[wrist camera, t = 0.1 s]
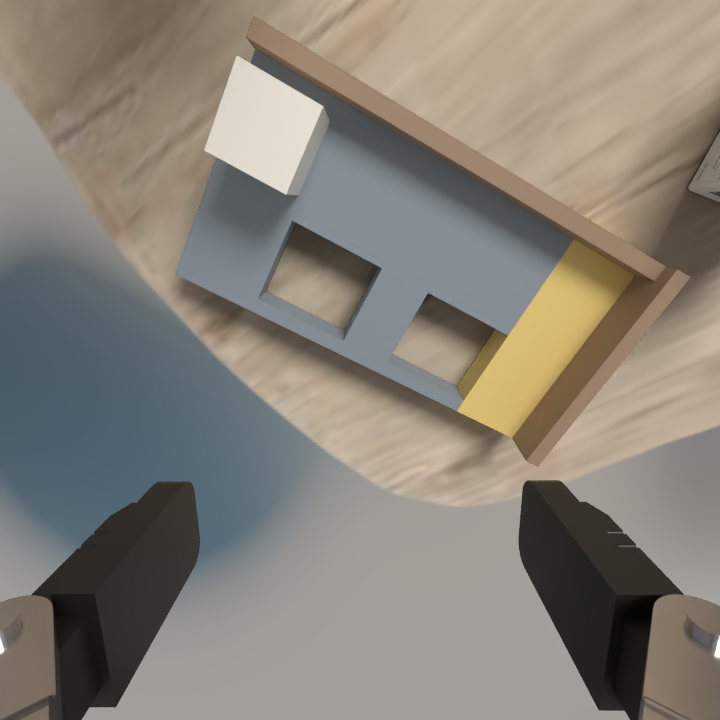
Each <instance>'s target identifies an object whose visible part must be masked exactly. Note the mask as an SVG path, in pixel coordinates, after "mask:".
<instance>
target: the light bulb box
mask: <svg viewBox="0 0 720 720" xmlns="http://www.w3.org/2000/svg"><path fill="white" fill-rule="evenodd" d="M688 189H689V190H690V191H692V192H695V193H697V194H700V195H702V196H705V197H707V198H710V199H712V200H715V201H717V202H720V132H719V134H718V135H717V137H716V139H715V141H714V143H713V144H712V146H711V148H710V150H709V151H708V153H707V155H706V157H705V159H704V160H703V162H702V164H701V166H700V168H699V169H698V171H697V173H696V175H695V176H694V178H693V180H692V182H691V183H690V185H689V187H688Z"/></svg>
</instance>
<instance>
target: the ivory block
mask: <svg viewBox="0 0 720 720" xmlns="http://www.w3.org/2000/svg"><path fill="white" fill-rule="evenodd" d="M329 124H330V120H329V118H328V115H327V113H326V111H325V109H324V107H323V106H322V105H320V104H319V103H317V102H315V101H314V100H312V99H310V98H308V97H307V96H305V95H303V94H302V93H300V92H298V91H297V90H295V89H293V88H291V87H290V86H288V85H286V84H285V83H283V82H281V81H280V80H278V79H276V78H274V77H273V76H271V75H269V74H268V73H266V72H264V71H263V70H261V69H259V68H257V67H256V66H254V65H252V64H251V63H249V62H247V61H246V60H244V59H242V58H240V57H239V56H236V59H235V62H234V65H233V68H232V71H231V74H230V77H229V79H228V82H227V85H226V88H225V91H224V94H223V97H222V100H221V103H220V106H219V109H218V111H217V114H216V117H215V120H214V123H213V126H212V129H211V132H210V135H209V138H208V140H207V143H206V146H205V149H204V151H206V152H208V153H210V154H212V155H214V156H215V157H217V158H219V159H221V160H223V161H225V162H226V163H228V164H230V165H232V166H234V167H236V168H238V169H239V170H241V171H243V172H245V173H247V174H249V175H250V176H252V177H254V178H256V179H258V180H260V181H262V182H263V183H265V184H267V185H269V186H271V187H273V188H274V189H276V190H278V191H280V192H282V193H284V194H286V195H299V193H300V191H301V188H302V186H303V184H304V182H305V179H306V177H307V175H308V172H309V170H310V168H311V165H312V163H313V161H314V158H315V156H316V154H317V152H318V149H319V147H320V145H321V142H322V140H323V138H324V135H325V133H326V131H327V129H328V126H329Z"/></svg>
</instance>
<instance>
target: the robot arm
mask: <svg viewBox="0 0 720 720" xmlns="http://www.w3.org/2000/svg"><path fill="white" fill-rule="evenodd" d="M199 547H200V537H199V527H198V519H197V510H196V501H195V493H194V488H193V485H192V483H190V482H157V483H155V484H154V485H153V486H152V487H151V488H150V489H149V490H148V491H147V492H146V493H145V494H144V496H143V497H142V498H141V499H140V500H139V501H138V502H137V503H131V504H130V505H128V506H126V507H125V508H123V509H121V510H120V511H118V512H116V513H115V514H113V515H111V516H110V517H109V518H108V519H107V520H106V521H105V522H104V523H103V524H102V525H101V526H100V527H99V528H98V529H97V530H96V531H95V533H94V535H91V536H90V537H89V538H88V539H87V540H86V541H85V542H84V543H83V544H82V545H81V548H80V549H79V548H78V549H77V550H76V551H75V552H74V553H73V554H72V555H71V556H70V557H69V558H68V559H67V560H66V561H65V562H64V563H63V564H62V565H61V566H60V567H59V568H58V569H57V570H56V571H55V572H54V573H53V574H52V575H51V576H50V577H49V578H48V579H47V580H46V581H45V582H44V583H43V584H42V585H41V586H40V587H39V588H38V589H37V590H36V591H35V592H34V593H33V594H32V595H31V596H22V597H17V598H13V599H9V600H6V601H3V602H0V720H82V718H83V717H84V715H85V713H86V711H87V710H88V708H89V707H116V706H117V704H118V702H119V701H120V699H121V697H122V695H123V694H124V692H125V690H126V688H127V686H128V684H129V683H130V681H131V679H132V677H133V676H134V674H135V672H136V670H137V668H138V667H139V665H140V663H141V661H142V659H143V657H144V655H145V654H146V652H147V651H148V649H149V647H150V645H151V643H152V642H153V640H154V638H155V636H156V634H157V632H158V630H159V629H160V627H161V625H162V624H163V622H164V620H165V618H166V616H167V615H168V613H169V611H170V609H171V607H172V606H173V604H174V602H175V600H176V598H177V597H178V595H179V593H180V591H181V590H182V588H183V586H184V584H185V582H186V581H187V579H188V577H189V575H190V574H191V572H192V570H193V568H194V566H195V564H196V561H197V558H198V553H199ZM519 551H520V556H521V560H522V563H523V565H524V567H525V569H526V572H527V573H528V575H529V577H530V579H531V581H532V583H533V585H534V587H535V589H536V590H537V593H538V595H539V596H540V598H541V600H542V602H543V604H544V606H545V607H546V610H547V612H548V614H549V615H550V617H551V619H552V621H553V623H554V625H555V627H556V629H557V631H558V633H559V635H560V637H561V638H562V640H563V642H564V644H565V646H566V648H567V650H568V652H569V654H570V656H571V658H572V660H573V661H574V664H575V665H576V667H577V669H578V671H579V673H580V675H581V677H582V679H583V681H584V682H585V685H586V687H587V688H588V690H589V692H590V694H591V696H592V698H593V700H594V702H595V704H596V706H597V707H598V709H599V710H619V711H621V710H624V711H625V712H626V713H627V715H628V717H629V718H630V720H720V606H718V605H716V604H714V603H711V602H709V601H706V600H703V599H699V598H697V597H692V596H687V595H684V594H683V593H682V592H681V591H680V590H679V589H678V588H677V587H676V586H675V585H674V584H673V583H672V582H671V581H670V579H669V578H668V577H666V575H665V574H664V573H663V572H662V571H661V570H660V569H659V568H658V567H657V566H656V565H655V564H654V563H653V562H652V561H651V560H650V559H649V558H648V557H647V555H646V554H645V553H644V552H643V551H642V550H641V549H640V548H636V544H635V543H634V542H633V541H632V540H631V539H630V538H629V537H628V536H627V535H626V534H623V531H622V529H621V528H620V527H619V526H618V525H617V524H616V523H615V522H614V521H613V520H612V519H611V518H610V517H609V516H608V515H607V514H605V513H604V512H602V511H600V510H598V509H597V508H595V507H594V506H592V505H590V504H589V503H587V502H579V501H578V500H577V498H576V497H575V496H574V495H573V494H572V493H571V492H570V491H569V489H568V488H567V487H566V486H565V485H564V484H563V483H562V482H561V481H558V480H544V481H526V482H525V484H524V486H523V492H522V505H521V516H520V528H519Z"/></svg>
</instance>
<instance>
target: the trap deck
mask: <svg viewBox="0 0 720 720" xmlns="http://www.w3.org/2000/svg"><path fill="white" fill-rule="evenodd" d="M246 38H247V39H248V40H249V42H250V43H251V44H252V46H253V47H254V49H255V52H254V55H253V58H252V61H251V64H252V65H254V66H256V67H257V68H259V69H261V70H263V71H264V72H266V73H268V74H269V75H271V76H273V77H274V78H276V79H278V80H280V81H281V82H283V83H285V84H286V85H288V86H290V87H291V88H293V89H295V90H297V91H298V92H300V93H302V94H303V95H305V96H307V97H308V98H310V99H312V100H314V101H315V102H317V103H319V104H320V105H322V106H323V107H324V109H325V111H326V113H327V115H328V118H329V120H330V124H329V126H328V129H327V131H326V133H325V135H324V138H323V140H322V142H321V145H320V147H319V149H318V152H317V154H316V156H315V158H314V161H313V163H312V165H311V168H310V170H309V172H308V175H307V177H306V179H305V182H304V184H303V186H302V188H301V191H300V193H299V195H286V194H284V193H282V192H280V191H278V190H276V189H274V188H273V187H271V186H269V185H267V184H265V183H263V182H262V181H260V180H258V179H256V178H254V177H252V176H250V175H249V174H247V173H245V172H243V171H241V170H239V169H238V168H236V167H234V166H232V165H230V164H228V163H226V162H225V161H223V160H221V159H219V158H217V159H216V162H215V164H214V167H213V170H212V173H211V176H210V178H209V181H208V184H207V187H206V190H205V193H204V195H203V198H202V201H201V204H200V207H199V209H198V212H197V215H196V218H195V221H194V223H193V226H192V229H191V232H190V235H189V237H188V240H187V243H186V246H185V249H184V251H183V254H182V257H181V260H180V263H179V266H178V268H177V271H176V275H178V276H180V277H182V278H184V279H186V280H188V281H190V282H192V283H194V284H196V285H198V286H200V287H202V288H204V289H206V290H209V291H211V292H213V293H215V294H217V295H219V296H221V297H223V298H225V299H227V300H229V301H231V302H233V303H235V304H237V305H239V306H241V307H243V308H246V309H248V310H250V311H252V312H254V313H256V314H258V315H260V316H262V317H264V318H266V319H268V320H270V321H272V322H274V323H276V324H278V325H281V326H283V327H285V328H287V329H289V330H291V331H293V332H295V333H297V334H299V335H301V336H303V337H305V338H307V339H309V340H311V341H313V342H315V343H318V344H320V345H322V346H324V347H326V348H328V349H330V350H332V351H334V352H336V353H338V354H340V355H342V356H344V357H346V358H348V359H350V360H352V361H355V362H357V363H359V364H361V365H363V366H365V367H367V368H369V369H371V370H373V371H375V372H377V373H379V374H381V375H383V376H385V377H387V378H390V379H392V380H394V381H396V382H398V383H400V384H402V385H404V386H406V387H408V388H410V389H412V390H414V391H416V392H418V393H420V394H422V395H424V396H427V397H429V398H431V399H433V400H435V401H437V402H439V403H441V404H443V405H445V406H447V407H449V408H451V409H453V410H455V411H457V412H459V413H461V414H464V415H466V416H468V417H470V418H472V419H474V420H476V421H478V422H480V423H482V424H484V425H486V426H488V427H490V428H492V429H494V430H496V431H498V432H501V433H503V434H505V435H507V436H509V437H511V438H512V439H513V440H514V442H515V444H516V445H517V447H518V449H519V450H520V452H521V453H522V455H523V457H524V458H525V460H526V461H527V462H529V463H531V464H533V465H535V466H539V465H540V463H541V462H542V461H543V460H544V458H545V457H546V456H547V455H548V453H549V452H550V451H551V450H552V449H553V447H554V446H555V445H556V444H557V442H558V441H559V440H560V439H561V437H562V436H563V435H564V434H565V432H566V431H567V430H568V429H569V427H570V426H571V425H572V424H573V423H574V421H575V420H576V419H577V418H578V416H579V415H580V414H581V413H582V411H583V410H584V409H585V408H586V406H587V405H588V404H589V403H590V401H591V400H592V399H593V398H594V397H595V395H596V394H597V393H598V392H599V390H600V389H601V388H602V387H603V385H604V384H605V383H606V382H607V380H608V379H609V378H610V377H611V375H612V374H613V373H614V372H615V371H616V369H617V368H618V367H619V366H620V364H621V363H622V362H623V361H624V359H625V358H626V357H627V356H628V354H629V353H630V352H631V351H632V349H633V348H634V347H635V346H636V345H637V343H638V342H639V341H640V340H641V338H642V337H643V336H644V335H645V333H646V332H647V331H648V330H649V328H650V327H651V326H652V325H653V323H654V322H655V321H656V320H657V319H658V317H659V316H660V315H661V314H662V312H663V311H664V310H665V309H666V307H667V306H668V305H669V304H670V302H671V301H672V300H673V299H674V297H675V296H676V295H677V294H678V293H679V291H680V290H681V289H682V288H683V286H684V285H685V284H686V283H687V281H688V280H689V279H690V278H691V277H690V276H688V275H686V274H685V273H683V272H681V271H680V270H678V269H674V268H670V267H666V266H664V265H663V264H661V263H659V262H658V261H656V260H654V259H653V258H651V257H650V256H648V255H646V254H645V253H643V252H641V251H640V250H638V249H636V248H635V247H633V246H631V245H630V244H628V243H626V242H625V241H623V240H622V239H620V238H618V237H617V236H615V235H613V234H612V233H610V232H608V231H607V230H605V229H603V228H602V227H600V226H599V225H597V224H595V223H594V222H592V221H590V220H589V219H587V218H585V217H584V216H582V215H580V214H579V213H577V212H576V211H574V210H572V209H571V208H569V207H567V206H566V205H564V204H562V203H561V202H559V201H557V200H556V199H554V198H553V197H551V196H549V195H548V194H546V193H544V192H543V191H541V190H539V189H538V188H536V187H534V186H533V185H531V184H530V183H528V182H526V181H525V180H523V179H521V178H520V177H518V176H516V175H515V174H513V173H511V172H510V171H508V170H507V169H505V168H503V167H502V166H500V165H498V164H497V163H495V162H493V161H492V160H490V159H488V158H487V157H485V156H483V155H482V154H480V153H479V152H477V151H475V150H474V149H472V148H470V147H469V146H467V145H465V144H464V143H462V142H460V141H459V140H457V139H456V138H454V137H452V136H451V135H449V134H447V133H446V132H444V131H442V130H441V129H439V128H437V127H436V126H434V125H433V124H431V123H429V122H428V121H426V120H424V119H423V118H421V117H419V116H418V115H416V114H414V113H413V112H411V111H410V110H408V109H406V108H405V107H403V106H401V105H400V104H398V103H396V102H395V101H393V100H391V99H390V98H388V97H387V96H385V95H383V94H382V93H380V92H378V91H377V90H375V89H373V88H372V87H370V86H368V85H367V84H365V83H364V82H362V81H360V80H359V79H357V78H355V77H354V76H352V75H350V74H349V73H347V72H345V71H344V70H342V69H341V68H339V67H337V66H336V65H334V64H332V63H331V62H329V61H327V60H326V59H324V58H322V57H321V56H319V55H317V54H316V53H314V52H313V51H311V50H309V49H308V48H306V47H304V46H303V45H301V44H299V43H298V42H296V41H294V40H293V39H291V38H290V37H288V36H286V35H285V34H283V33H281V32H280V31H278V30H276V29H275V28H273V27H271V26H270V25H268V24H267V23H265V22H263V21H262V20H260V19H258V18H257V17H255V16H253V18H252V21H251V24H250V26H249V29H248V32H247V35H246ZM296 223H298V224H300V225H302V226H303V227H305V228H307V229H309V230H311V231H313V232H315V233H317V234H318V235H320V236H322V237H324V238H326V239H328V240H330V241H332V242H333V243H335V244H337V245H339V246H341V247H343V248H345V249H347V250H348V251H350V252H352V253H354V254H356V255H358V256H360V257H362V258H363V259H365V260H367V261H369V262H371V263H373V264H375V265H377V266H379V267H378V269H377V271H376V273H375V275H374V277H373V279H372V280H371V282H370V284H369V286H368V288H367V290H366V292H365V294H364V296H363V297H362V299H361V301H360V303H359V305H358V307H357V309H356V311H355V312H354V314H353V316H352V318H351V320H350V322H349V324H348V326H347V328H346V329H345V330H343V329H341V328H339V327H337V326H335V325H333V324H331V323H329V322H327V321H325V320H323V319H321V318H319V317H316V316H314V315H312V314H310V313H308V312H306V311H304V310H302V309H300V308H298V307H296V306H294V305H292V304H290V303H288V302H286V301H284V300H282V299H280V298H278V297H276V296H274V295H272V294H270V293H268V292H266V290H267V287H268V285H269V283H270V281H271V278H272V276H273V274H274V272H275V269H276V267H277V265H278V262H279V260H280V258H281V256H282V253H283V251H284V249H285V247H286V244H287V242H288V240H289V238H290V235H291V233H292V231H293V229H294V226H295V224H296ZM428 293H429V294H431V295H433V296H435V297H437V298H439V299H440V300H442V301H444V302H446V303H448V304H450V305H452V306H454V307H455V308H457V309H459V310H461V311H463V312H465V313H467V314H469V315H471V316H472V317H474V318H476V319H478V320H480V321H482V322H484V323H486V324H487V325H489V326H491V327H493V328H495V330H494V332H493V333H492V335H491V336H490V338H489V339H488V341H487V342H486V344H485V345H484V347H483V348H482V350H481V351H480V353H479V354H478V356H477V357H476V359H475V360H474V362H473V363H472V365H471V366H470V368H469V369H468V371H467V372H466V374H465V375H464V377H463V378H462V380H461V381H460V383H459V384H458V386H455V385H453V384H451V383H449V382H447V381H445V380H443V379H441V378H439V377H437V376H435V375H433V374H431V373H429V372H427V371H425V370H423V369H421V368H419V367H417V366H415V365H413V364H411V363H409V362H407V361H405V360H403V359H401V358H399V357H397V356H395V355H393V354H392V353H393V352H394V350H395V348H396V347H397V345H398V343H399V341H400V340H401V338H402V336H403V335H404V333H405V331H406V329H407V328H408V326H409V324H410V323H411V321H412V319H413V318H414V316H415V314H416V312H417V311H418V309H419V307H420V306H421V304H422V302H423V300H424V299H425V297H426V295H427V294H428Z"/></svg>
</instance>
